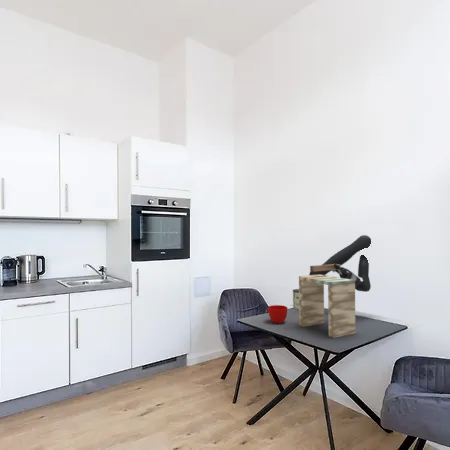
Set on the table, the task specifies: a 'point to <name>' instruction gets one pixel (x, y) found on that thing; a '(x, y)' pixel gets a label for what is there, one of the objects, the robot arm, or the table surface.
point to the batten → (323, 267)
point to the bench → (337, 303)
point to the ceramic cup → (277, 313)
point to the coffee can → (296, 298)
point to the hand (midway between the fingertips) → (331, 265)
